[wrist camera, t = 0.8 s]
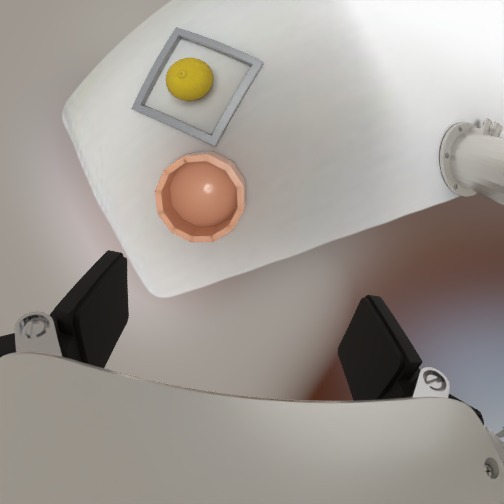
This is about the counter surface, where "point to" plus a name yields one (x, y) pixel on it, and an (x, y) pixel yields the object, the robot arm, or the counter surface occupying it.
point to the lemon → (189, 79)
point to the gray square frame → (161, 62)
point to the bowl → (201, 196)
